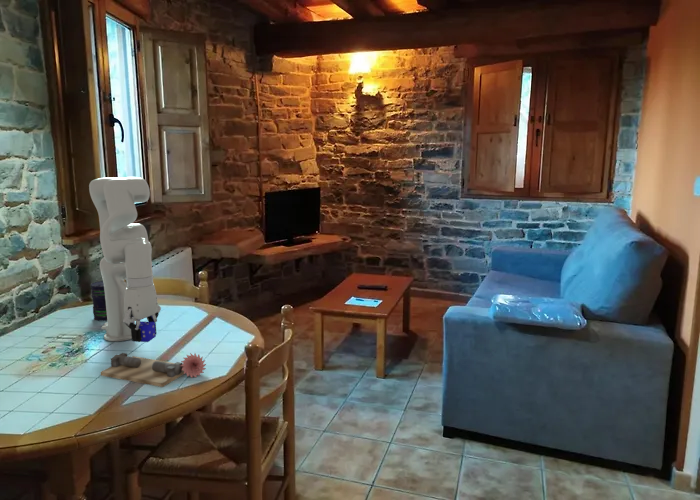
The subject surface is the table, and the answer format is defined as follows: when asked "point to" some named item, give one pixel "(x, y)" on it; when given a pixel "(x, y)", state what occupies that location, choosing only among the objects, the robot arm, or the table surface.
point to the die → (147, 331)
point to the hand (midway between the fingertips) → (144, 337)
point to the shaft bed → (143, 370)
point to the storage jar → (99, 301)
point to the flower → (193, 365)
